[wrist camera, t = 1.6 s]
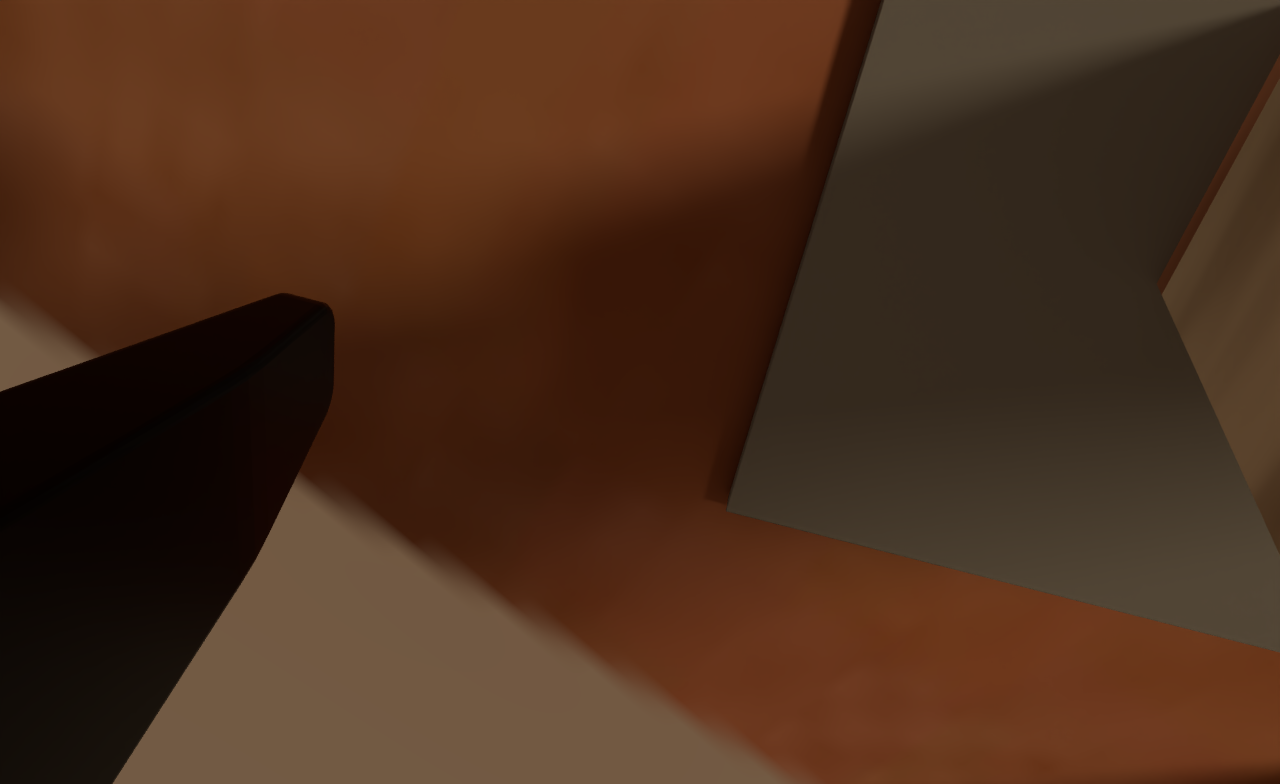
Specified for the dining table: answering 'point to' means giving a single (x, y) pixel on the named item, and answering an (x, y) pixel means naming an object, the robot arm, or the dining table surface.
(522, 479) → the dining table surface
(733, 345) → the dining table surface
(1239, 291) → the birch pillar
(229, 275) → the dining table surface
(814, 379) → the flip mat
